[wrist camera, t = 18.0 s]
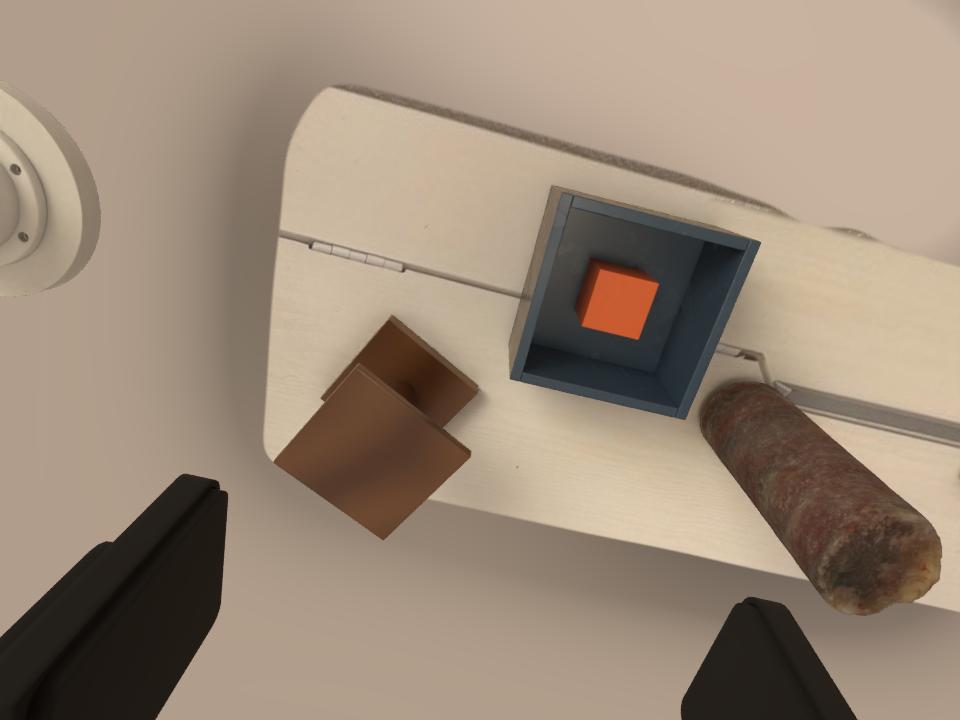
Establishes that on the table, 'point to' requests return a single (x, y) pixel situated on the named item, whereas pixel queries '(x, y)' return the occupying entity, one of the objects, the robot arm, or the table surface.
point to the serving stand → (383, 431)
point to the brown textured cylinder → (823, 502)
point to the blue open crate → (671, 319)
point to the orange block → (615, 298)
